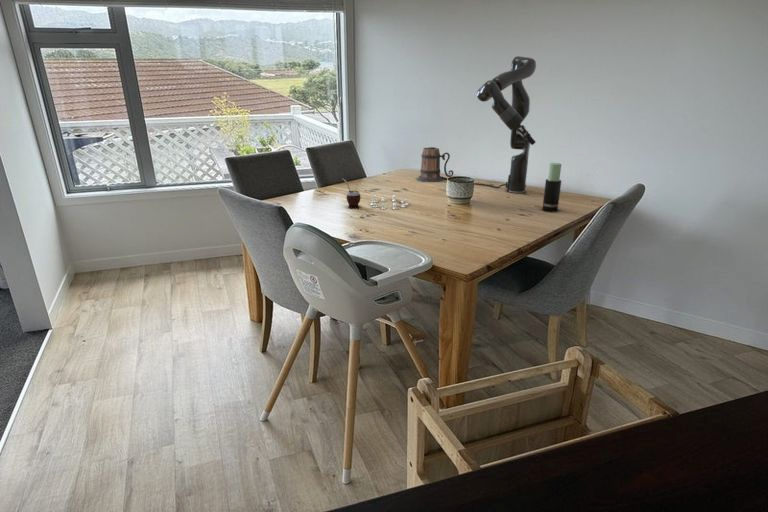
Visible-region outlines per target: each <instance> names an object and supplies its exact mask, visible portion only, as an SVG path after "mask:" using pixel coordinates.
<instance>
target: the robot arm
mask: <svg viewBox="0 0 768 512" xmlns="http://www.w3.org/2000/svg"><path fill="white" fill-rule="evenodd" d="M536 68H537V62H536V60H535V59H534V58H532V57H528V56H521V55H516V56H515V57H513V59H512V61H511V64H510V70H507V71H503V72H502V73H500V74H499V73H498V75H496V76H495V77H493V78H492V79H491V80H487V81H485V82H484V83H483V84H482V85H481V86H480V87H479V88H478V89H477V91H476V98H477V99H478V100H479V101H480V102H484V103H485V102H488V101H490V100H491V99H492V100H493V103H492V104H491V109H492V110H493V111H494V113H495V114H496V115H497V116H498V117H499V119H500V120H501V121H502V123H504V125H506V127H507V128H508V129H509V130H510V141H509V144H510V148H511V150H519V151H520V150H521V151H522V152H521V153H518V154H515V155H512V156H511V158H510V159H511V160H510V169H509V174H508V177H507V181H506V182H505V183H503V184H499V186H494V185H492V184H487V183H479V182H474V183H475V184H474V185H476V186H484V187H485V186H486V187H490V188H493V189H500V188H501V187H505V189H506V192H508V193H512V194H524V193H525V192H526V187H527V185H526V184H527V174H528V167H529V165H528V164H529V156H530V155H529V154H530V148H531V146H534V145H535V144H536V140H535V139H534V138H533V137H532V134H531V133H530V132H529V130H528V129H527V128H526V126H525V125H524V124H522V123H523V122H524V121H525V119H527V116H529V113H530V107H531V106H530V105H531V100H530V96H529V94H528V92H527V89H526V88H525V86H524V83H523V80H525V79H528V78H530V77H532V76H533V75H534V73H535V71H536ZM509 86H511V104H510V103H509V101H508V100H507V99H506V98H505V97H504V94H503V93H502V91H504V90H505V89H506V88H509ZM441 177H442V179H443V180H447V178H448V177H445V176H441Z"/></svg>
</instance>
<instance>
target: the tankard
mask: <svg viewBox="0 0 768 512" xmlns="http://www.w3.org/2000/svg"><path fill="white" fill-rule="evenodd" d="M446 155H447V159H446V158H445V157H446ZM450 157H451V155H450V153H449V152H444V153H442V155H441V154H440V148H438V147H434V146H429V147H423V148H422V152H421V161H420V162H421V163H420V170H419V171H420V173H419V175H418V177H417V178H416V180H417V181H418V182H425V183H438V182H439V183H440V182H442V181H444V179H443V178H442V177H443V176H441V159H442V160H443V161H445V162H444V165H443V171H444V175H445V176H446V178H451V177H453V175H454V170H453V169H451V170H448V172H447V164H448V162H449V161H450Z"/></svg>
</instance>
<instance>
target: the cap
mask: <svg viewBox="0 0 768 512" xmlns="http://www.w3.org/2000/svg"><path fill="white" fill-rule="evenodd" d="M561 172H562V163H560V162H550V163H549V169H548V177H547V179H548V180H549V181H559V180H561V179H560V178H561Z"/></svg>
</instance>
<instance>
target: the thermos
mask: <svg viewBox="0 0 768 512" xmlns="http://www.w3.org/2000/svg"><path fill="white" fill-rule="evenodd" d="M561 188H562V179H559V181H549V180H548V178H547V179H545V185H544V190H543V192H544V193H543V201H542V211H543V212H547V213H556V212H558V211H559V205H560V203H559V201H560V195H561Z"/></svg>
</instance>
